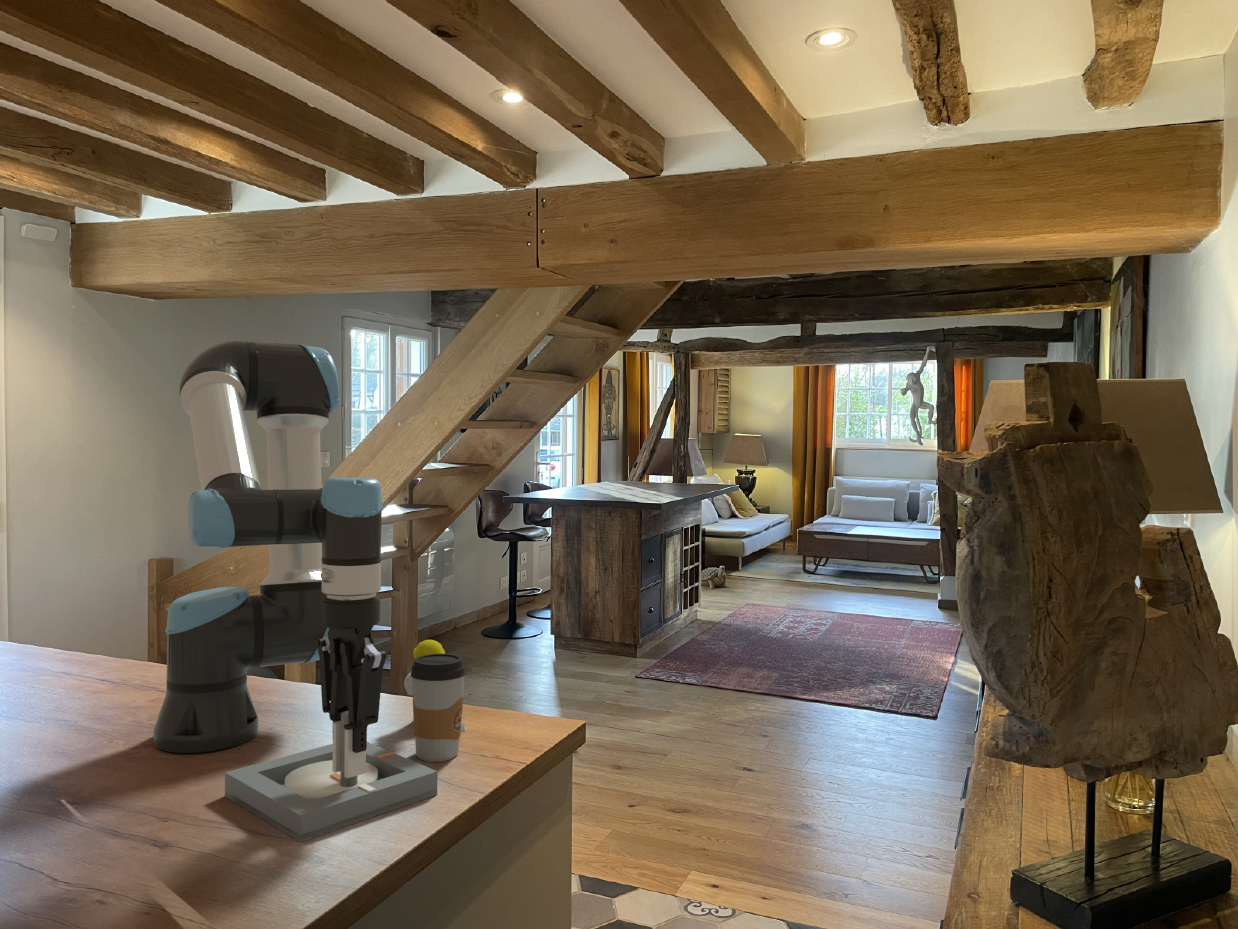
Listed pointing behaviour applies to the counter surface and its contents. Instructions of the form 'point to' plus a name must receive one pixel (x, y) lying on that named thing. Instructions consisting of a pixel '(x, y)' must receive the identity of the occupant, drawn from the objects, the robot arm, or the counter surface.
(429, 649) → the figurine
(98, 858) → the counter surface
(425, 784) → the dial board
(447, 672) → the coffee cup
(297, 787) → the dial
